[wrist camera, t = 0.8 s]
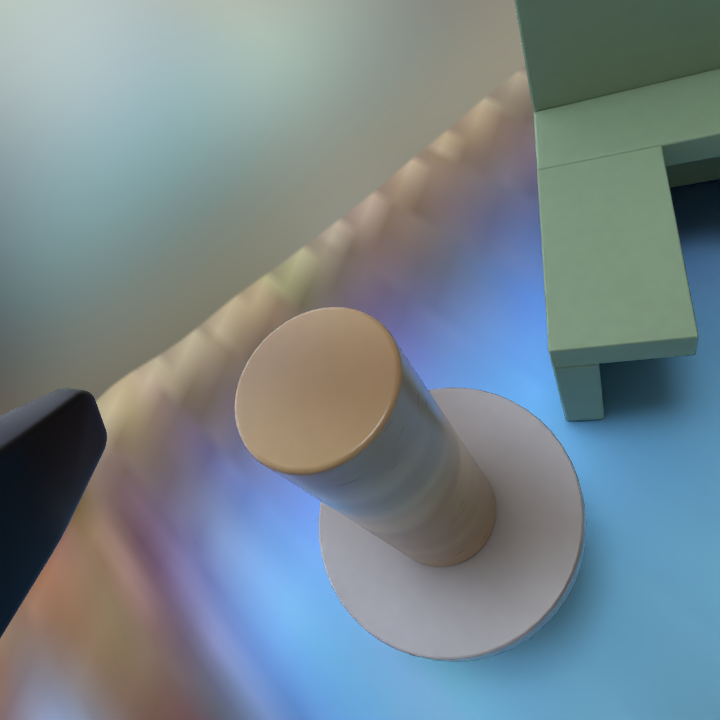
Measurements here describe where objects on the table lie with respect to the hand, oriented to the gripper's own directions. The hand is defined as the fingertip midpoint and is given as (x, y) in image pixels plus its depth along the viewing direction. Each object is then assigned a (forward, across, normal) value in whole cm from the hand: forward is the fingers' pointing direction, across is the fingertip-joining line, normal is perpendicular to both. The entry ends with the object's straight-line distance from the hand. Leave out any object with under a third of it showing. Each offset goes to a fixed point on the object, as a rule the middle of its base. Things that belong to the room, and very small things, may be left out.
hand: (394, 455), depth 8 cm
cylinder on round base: (+7, -2, +10) cm, 12 cm away
